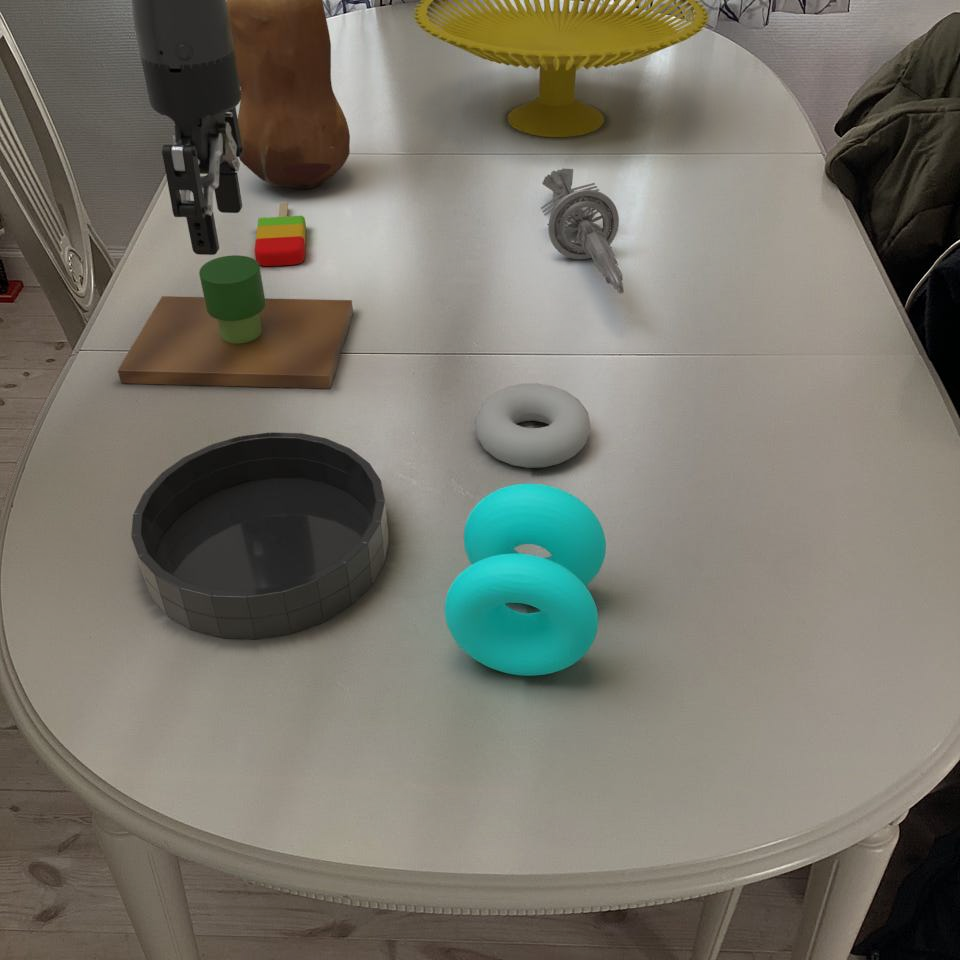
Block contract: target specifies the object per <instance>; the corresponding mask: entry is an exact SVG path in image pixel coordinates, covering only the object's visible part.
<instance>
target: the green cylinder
mask: <svg viewBox="0 0 960 960" xmlns="http://www.w3.org/2000/svg"><path fill="white" fill-rule="evenodd" d="M260 266H261V265H259V263H258V262H257V261H256V259H255V258H252V257H250V256H247V255H224V256H220V257H216V258H213V259H210V260H209V261H207V262H205V263H204V264H203V265H202V266H201V267H200V268H199V271H198V275H199V279H200V284H201V289H202V293H203V297H204V299H205V304H206V309H207V312H208V314H209V315H210V316H212V317H213V318H216V319H217V320H218V325H219V330H220V335H221V338H222V339H223V340H224V341H226V342H229V343H234V344H240V343H247V342H250V341H253V340H255V339H256V338H258V337H259V336H260V334H261V332H262V329H261V323H260V317H259V313H260V312H261V311H262V310H263V309H264V307H265V303H266V302H265V297H266V295H265V291H264V283H263V279H262V273H261V272H262V271H261V267H260Z"/></svg>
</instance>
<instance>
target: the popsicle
mask: <svg viewBox="0 0 960 960" xmlns="http://www.w3.org/2000/svg"><path fill="white" fill-rule="evenodd" d="M288 210H289V203H288V202H287V201H281V202H279V206H278V216H272V217H259V218H258V219H257V226H256V235H255V243H254V257H255V258H254V259H255V260H256V261H257V262H258V263H259V266H261V267H277V266H279V267H280V266H294V265H299V264H302V263H303V261H304V260H305V257H306V256H305V255H306V237H307V236H306V235H307V233H306V231H307V226H306V225H307V223H306V218H305V217H304V215H289V216H288Z"/></svg>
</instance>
